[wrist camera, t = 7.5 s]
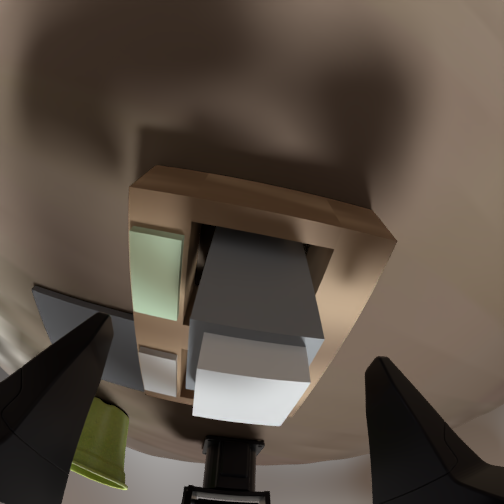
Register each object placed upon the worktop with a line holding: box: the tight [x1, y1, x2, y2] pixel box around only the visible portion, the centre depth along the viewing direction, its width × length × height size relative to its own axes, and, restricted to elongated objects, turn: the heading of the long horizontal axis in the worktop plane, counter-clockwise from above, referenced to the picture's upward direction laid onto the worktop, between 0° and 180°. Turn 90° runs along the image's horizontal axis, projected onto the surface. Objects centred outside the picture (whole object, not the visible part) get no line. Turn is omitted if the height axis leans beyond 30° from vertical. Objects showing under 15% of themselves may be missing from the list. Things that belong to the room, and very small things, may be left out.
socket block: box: [128, 165, 397, 417], centre depth 14 cm, size 14×10×3 cm
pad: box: [32, 286, 145, 392], centre depth 18 cm, size 9×9×1 cm
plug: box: [186, 226, 325, 426], centre depth 11 cm, size 4×4×8 cm
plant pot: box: [70, 397, 129, 490], centre depth 21 cm, size 9×9×9 cm
